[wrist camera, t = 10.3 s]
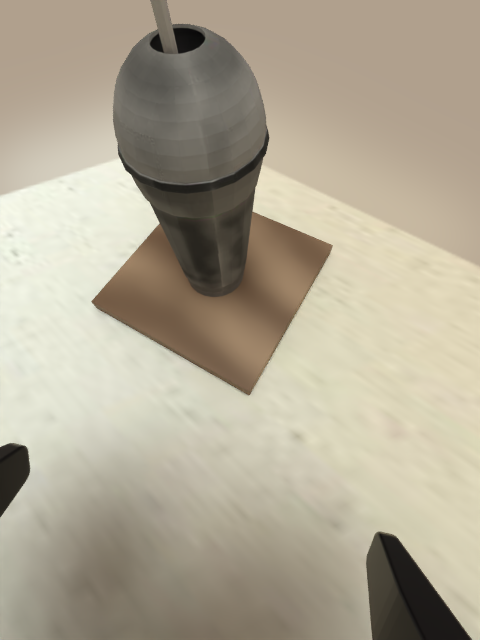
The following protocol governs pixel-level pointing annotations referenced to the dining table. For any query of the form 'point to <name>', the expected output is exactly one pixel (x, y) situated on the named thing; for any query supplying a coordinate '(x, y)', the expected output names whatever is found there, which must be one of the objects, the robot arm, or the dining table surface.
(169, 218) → the beverage cup
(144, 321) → the walnut board
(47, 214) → the dining table surface
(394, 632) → the robot arm
